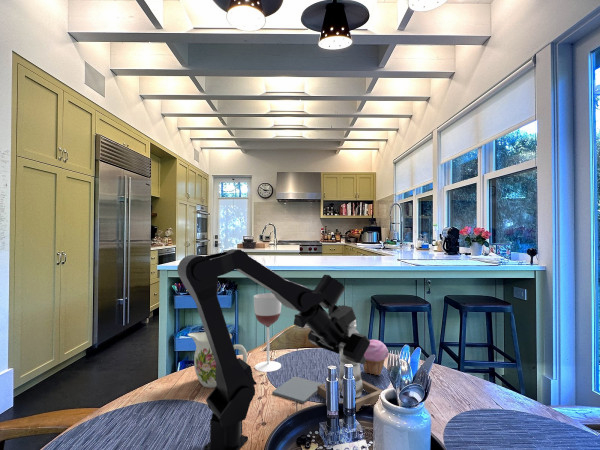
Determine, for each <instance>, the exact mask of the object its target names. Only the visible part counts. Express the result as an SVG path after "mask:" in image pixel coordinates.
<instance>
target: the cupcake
mask: <svg viewBox="0 0 600 450" xmlns="http://www.w3.org/2000/svg"><path fill="white" fill-rule="evenodd" d="M369 340H370V345H369V346H368V348H367V350H366V352H365V354H364V356H365V360H366V362H365V364H362V365H363V372H364V373H365V372H366V373H365V374H367V373H370V374H369V375H371V374H374V375H373V376H376V375H380V374H382V370H383V368H384V364H385V360H386V359H387V358H388V357H389V350H388V348H387V346H386V344H384V342H382V341H381V340H379V339H369ZM380 376H381V375H380Z"/></svg>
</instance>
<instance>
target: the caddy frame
mask: <svg viewBox="0 0 600 450" xmlns="http://www.w3.org/2000/svg"><path fill="white" fill-rule="evenodd" d="M337 379H338V380H339V378H337ZM362 384H363V389H364V390H365V391H367V392H368V393H367V392H366V393H367V395H364V396H362V397H361V396H360V397H359V398H357V399H355V400H356V412H359V411H360V410H359V409H360V408H361V406H362V405H364V404H373V405H375V404H377V403H378V402H377V401H378V399H379V395H380V393H381V392H382V391H384V390H383V389H381V388H379V387H377V386H375V385H373V384H372V383H370V382H367V381H365V380H364V379H362ZM317 388H318V392H317V395H319V396H320V397H322V398H324V399H325V400H327V399H326V388H325V383H322V385H319V386H317ZM365 391H364V392H365ZM369 393H370V394H369ZM376 402H377V403H376ZM356 412H355V413H356Z"/></svg>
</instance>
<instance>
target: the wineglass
mask: <svg viewBox="0 0 600 450" xmlns="http://www.w3.org/2000/svg"><path fill="white" fill-rule="evenodd" d="M253 309H254V314H255V318H256V320H257V321H258V322H259V323H260V324H261V325H263V326H265V327H266V361H261V362H259V363H256V364H255V365H254V369H255V370H257V371H259V372H264V373H265V372H266V373H268V372H270V373H271V372H276V371H277V370H279V369H281V368H282V364H281V363H280V362H278V361H274V360H270V326H273V324H275V323H276V322H277V321H278V320H279V318H280V315H281V311H282V303H281V302H280V301H279V300H278V299H277V298H276V297H275V295H274V294H273V293H272V292H265V293H264V292H263V293H257V294H254V295H253Z"/></svg>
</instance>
